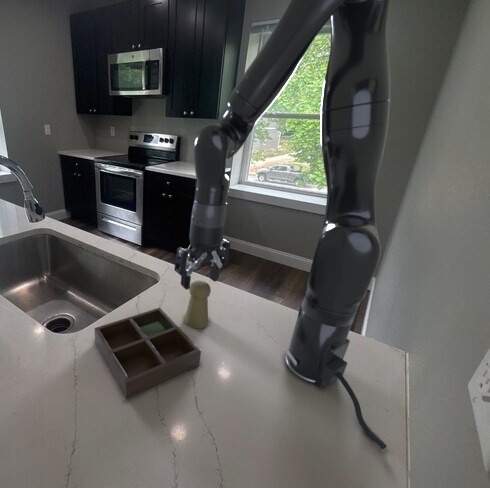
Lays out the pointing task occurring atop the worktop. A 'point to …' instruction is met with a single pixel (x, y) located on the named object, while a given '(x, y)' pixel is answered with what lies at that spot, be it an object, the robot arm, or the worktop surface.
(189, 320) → the yellow peg doll
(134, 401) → the worktop surface
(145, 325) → the grid
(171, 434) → the worktop surface
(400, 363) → the worktop surface
